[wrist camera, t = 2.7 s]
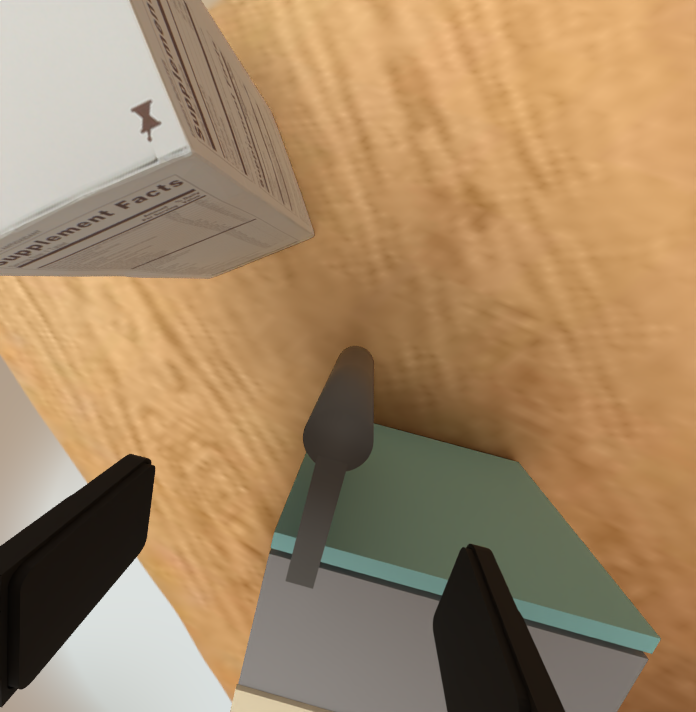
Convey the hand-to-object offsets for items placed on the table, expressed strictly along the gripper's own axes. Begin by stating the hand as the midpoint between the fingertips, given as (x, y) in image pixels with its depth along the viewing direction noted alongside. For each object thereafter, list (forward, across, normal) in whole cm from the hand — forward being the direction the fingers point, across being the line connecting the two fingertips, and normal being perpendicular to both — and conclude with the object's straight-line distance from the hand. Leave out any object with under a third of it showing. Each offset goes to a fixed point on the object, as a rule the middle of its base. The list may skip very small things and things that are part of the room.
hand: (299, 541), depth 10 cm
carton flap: (+17, -7, 0) cm, 18 cm away
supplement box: (+18, +11, -11) cm, 24 cm away
